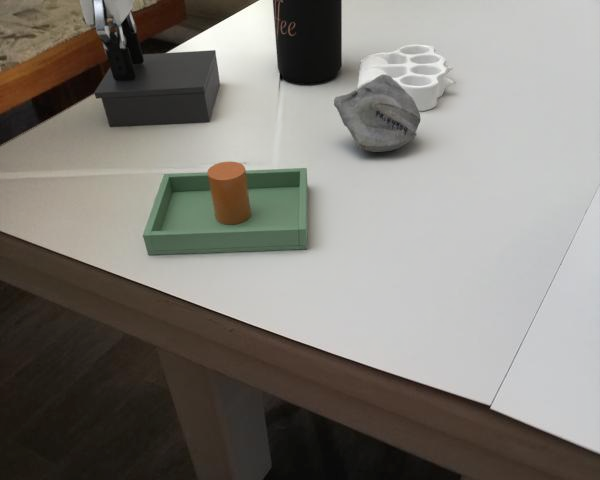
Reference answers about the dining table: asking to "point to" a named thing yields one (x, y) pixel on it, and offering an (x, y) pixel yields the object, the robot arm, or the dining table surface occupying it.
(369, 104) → the fossil
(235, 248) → the tray
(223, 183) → the orange cylinder
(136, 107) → the black box
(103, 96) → the lid
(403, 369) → the dining table surface
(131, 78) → the robot arm
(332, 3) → the coffee jar
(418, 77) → the white multi-well holder
